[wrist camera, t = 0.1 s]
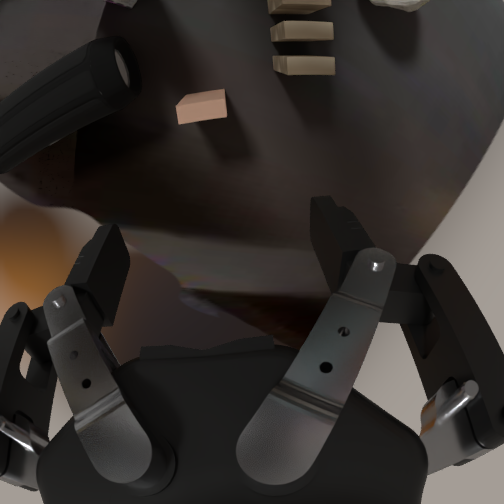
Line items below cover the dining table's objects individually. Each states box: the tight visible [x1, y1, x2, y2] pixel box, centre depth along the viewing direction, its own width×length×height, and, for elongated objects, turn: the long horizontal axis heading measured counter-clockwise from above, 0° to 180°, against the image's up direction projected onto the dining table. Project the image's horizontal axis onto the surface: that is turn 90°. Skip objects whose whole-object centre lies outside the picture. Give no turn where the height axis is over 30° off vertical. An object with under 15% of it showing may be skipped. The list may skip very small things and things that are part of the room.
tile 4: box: [273, 55, 335, 75], centre depth 29 cm, size 2×5×9 cm, turn 95°
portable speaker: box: [0, 36, 142, 174], centre depth 27 cm, size 26×10×10 cm, turn 103°
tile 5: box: [176, 89, 227, 124], centre depth 31 cm, size 2×5×9 cm, turn 95°
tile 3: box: [270, 21, 334, 42], centre depth 26 cm, size 2×5×9 cm, turn 95°
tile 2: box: [268, 0, 331, 14], centre depth 24 cm, size 2×5×9 cm, turn 95°
